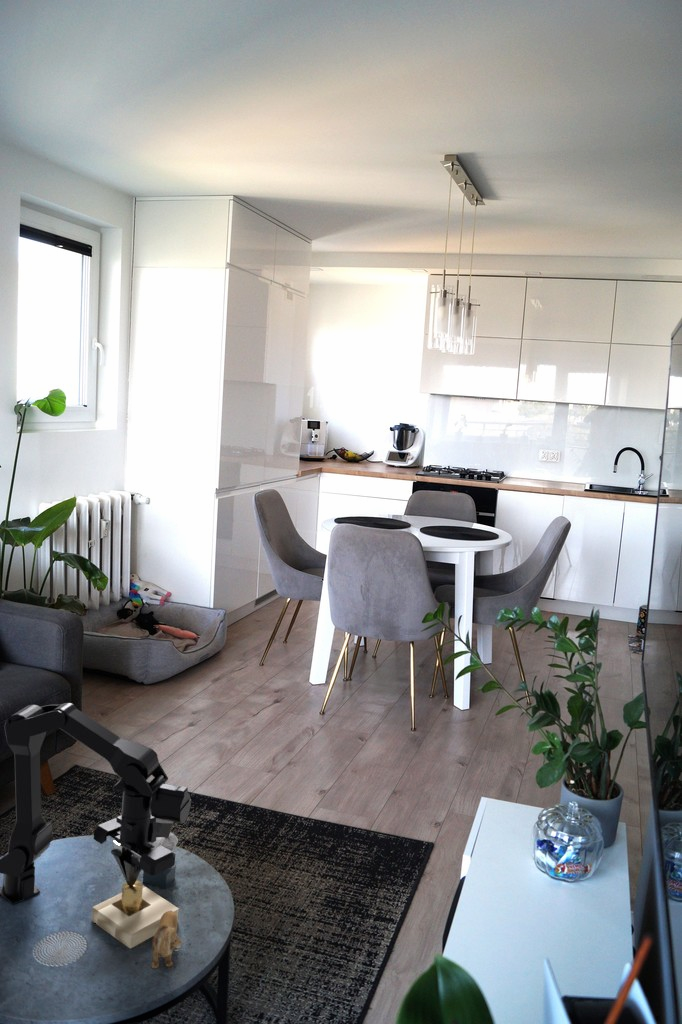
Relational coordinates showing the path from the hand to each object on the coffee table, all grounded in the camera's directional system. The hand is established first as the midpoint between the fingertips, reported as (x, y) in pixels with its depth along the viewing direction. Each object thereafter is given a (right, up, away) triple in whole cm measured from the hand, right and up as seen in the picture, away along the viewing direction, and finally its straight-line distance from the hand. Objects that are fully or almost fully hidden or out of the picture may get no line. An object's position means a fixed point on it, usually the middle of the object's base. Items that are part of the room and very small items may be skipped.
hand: (130, 885), depth 173 cm
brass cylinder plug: (0, -7, +1) cm, 7 cm away
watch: (+2, -6, +15) cm, 16 cm away
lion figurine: (+9, -10, -9) cm, 16 cm away
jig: (+1, -7, 0) cm, 7 cm away
